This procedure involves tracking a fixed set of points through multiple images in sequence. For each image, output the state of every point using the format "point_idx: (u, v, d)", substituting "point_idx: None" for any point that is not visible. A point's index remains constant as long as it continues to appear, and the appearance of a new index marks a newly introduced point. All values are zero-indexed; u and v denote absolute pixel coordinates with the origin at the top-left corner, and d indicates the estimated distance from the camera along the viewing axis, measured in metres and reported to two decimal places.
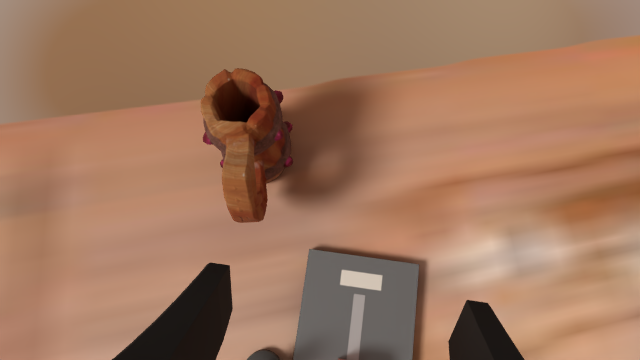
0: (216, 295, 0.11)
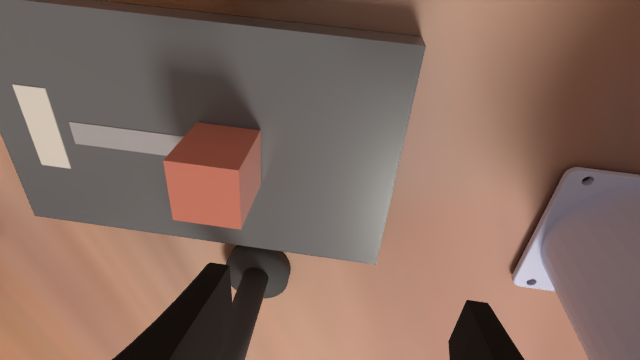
0: (216, 295, 0.11)
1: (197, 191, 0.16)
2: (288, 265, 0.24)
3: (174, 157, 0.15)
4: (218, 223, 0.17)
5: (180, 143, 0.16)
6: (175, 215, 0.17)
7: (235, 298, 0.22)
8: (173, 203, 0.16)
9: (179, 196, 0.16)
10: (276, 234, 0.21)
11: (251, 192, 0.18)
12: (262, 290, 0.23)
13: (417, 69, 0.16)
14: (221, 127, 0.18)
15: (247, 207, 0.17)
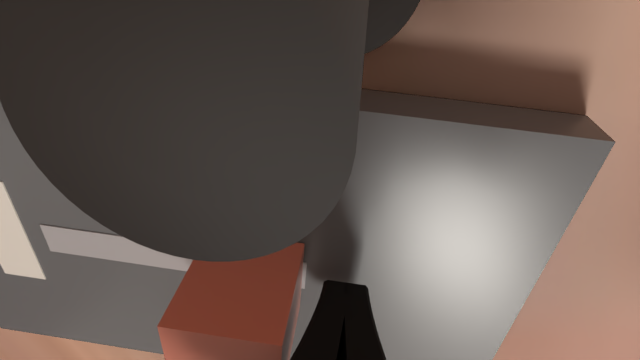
0: None
1: None
2: None
3: (175, 317, 0.10)
4: None
5: (185, 281, 0.10)
6: None
7: None
8: None
9: None
10: None
11: (291, 339, 0.12)
12: None
13: (592, 174, 0.10)
14: None
15: None
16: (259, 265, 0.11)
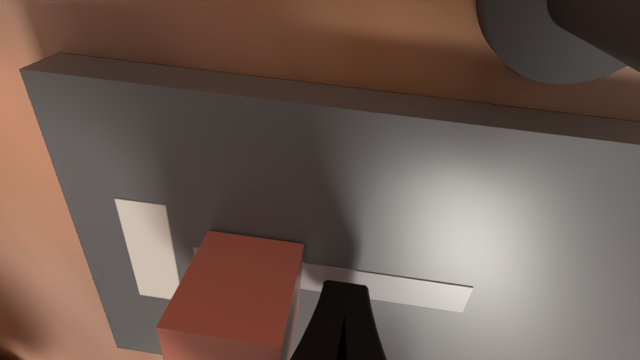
0: (344, 314, 0.11)
1: None
2: None
3: (174, 318, 0.09)
4: None
5: (184, 281, 0.10)
6: None
7: None
8: None
9: None
10: None
11: (290, 340, 0.12)
12: None
13: None
14: (245, 240, 0.12)
15: None
16: (258, 266, 0.11)
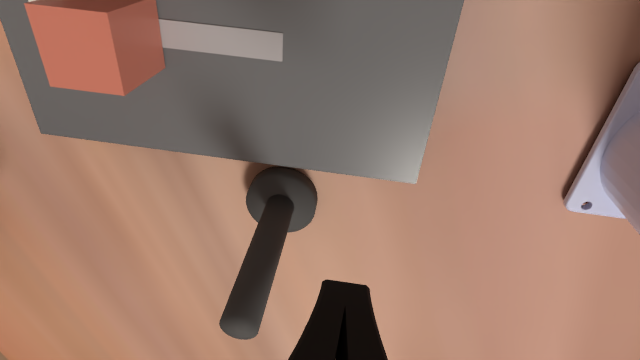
0: (343, 314, 0.11)
1: (68, 45, 0.14)
2: (315, 193, 0.22)
3: (39, 2, 0.14)
4: (98, 88, 0.15)
5: None
6: (51, 80, 0.15)
7: (259, 222, 0.20)
8: (46, 63, 0.15)
9: (51, 53, 0.14)
10: (306, 148, 0.19)
11: (143, 63, 0.16)
12: (288, 216, 0.21)
13: None
14: None
15: (136, 77, 0.16)
16: None
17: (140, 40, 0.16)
